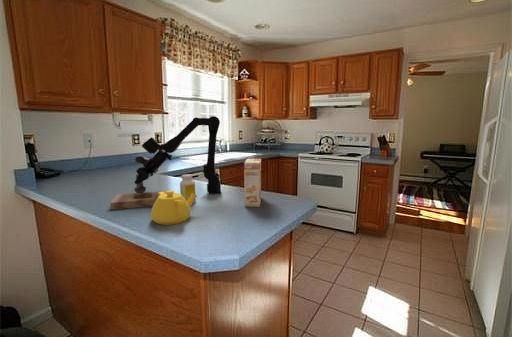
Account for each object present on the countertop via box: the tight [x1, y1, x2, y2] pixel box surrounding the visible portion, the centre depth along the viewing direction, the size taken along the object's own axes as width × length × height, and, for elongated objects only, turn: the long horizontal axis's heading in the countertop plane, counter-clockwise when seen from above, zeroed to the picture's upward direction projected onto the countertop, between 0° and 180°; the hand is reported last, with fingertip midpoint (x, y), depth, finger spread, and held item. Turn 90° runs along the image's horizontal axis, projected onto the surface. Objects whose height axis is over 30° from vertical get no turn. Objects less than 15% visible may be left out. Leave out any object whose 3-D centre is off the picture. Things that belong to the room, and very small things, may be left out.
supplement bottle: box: [179, 173, 197, 204], centre depth 120 cm, size 7×7×13 cm
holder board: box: [110, 190, 168, 210], centre depth 121 cm, size 24×14×3 cm, turn 107°
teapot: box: [150, 190, 198, 226], centre depth 101 cm, size 20×18×11 cm
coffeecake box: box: [243, 158, 262, 208], centre depth 121 cm, size 15×7×20 cm, turn 176°
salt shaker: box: [133, 173, 147, 193], centre depth 134 cm, size 6×6×12 cm
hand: (136, 182), depth 134 cm, fingers open, 5 cm apart
